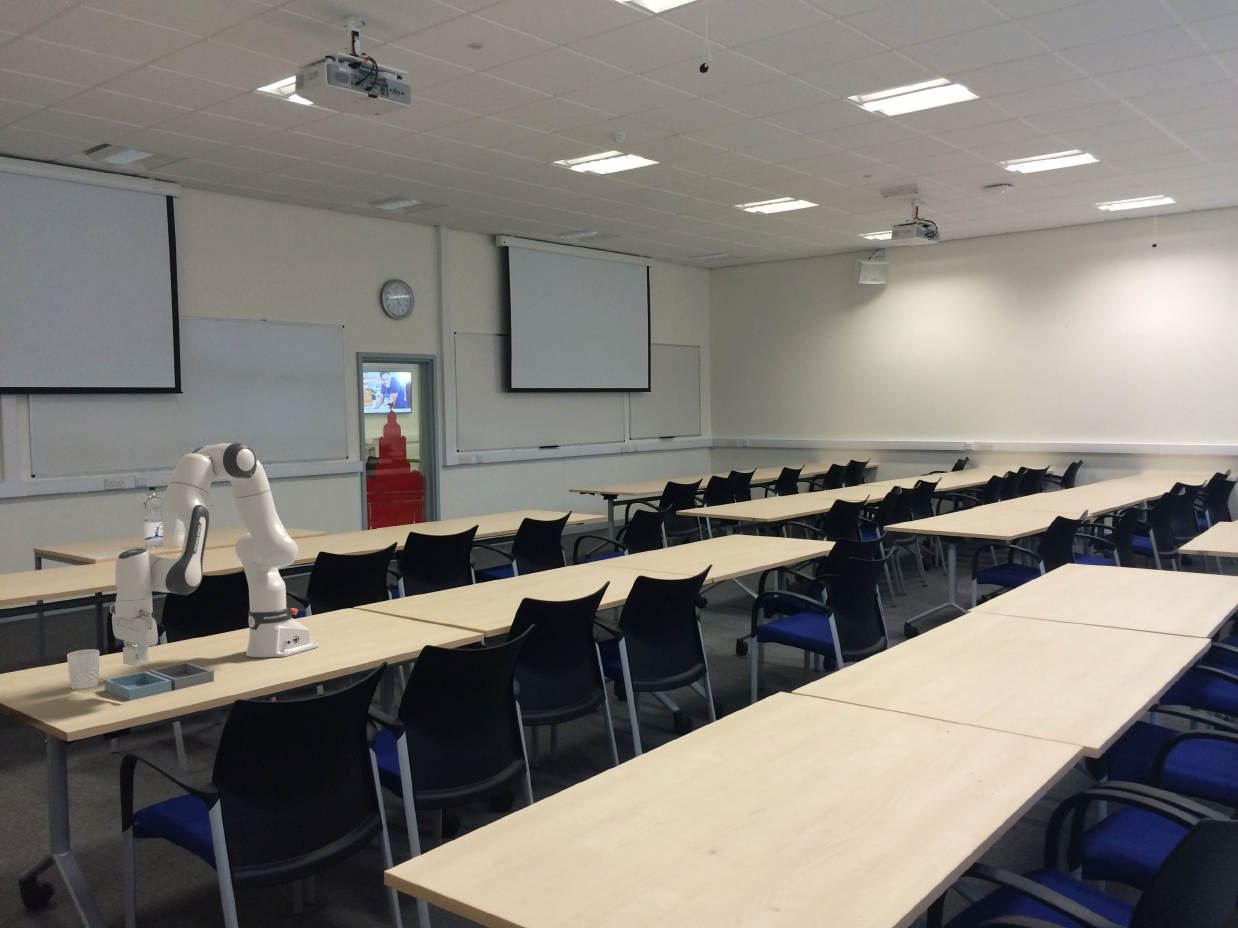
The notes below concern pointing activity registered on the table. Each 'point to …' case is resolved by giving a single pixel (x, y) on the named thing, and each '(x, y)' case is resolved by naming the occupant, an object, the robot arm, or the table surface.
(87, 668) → the white cup
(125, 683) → the bin
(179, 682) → the tray
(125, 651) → the white cube
